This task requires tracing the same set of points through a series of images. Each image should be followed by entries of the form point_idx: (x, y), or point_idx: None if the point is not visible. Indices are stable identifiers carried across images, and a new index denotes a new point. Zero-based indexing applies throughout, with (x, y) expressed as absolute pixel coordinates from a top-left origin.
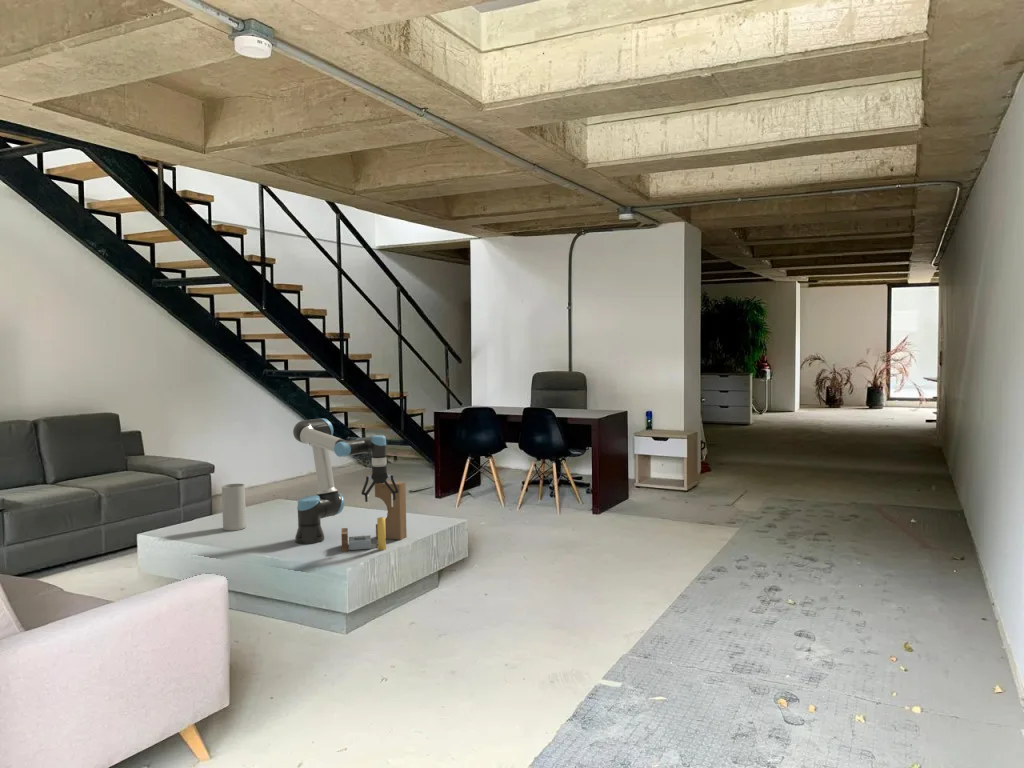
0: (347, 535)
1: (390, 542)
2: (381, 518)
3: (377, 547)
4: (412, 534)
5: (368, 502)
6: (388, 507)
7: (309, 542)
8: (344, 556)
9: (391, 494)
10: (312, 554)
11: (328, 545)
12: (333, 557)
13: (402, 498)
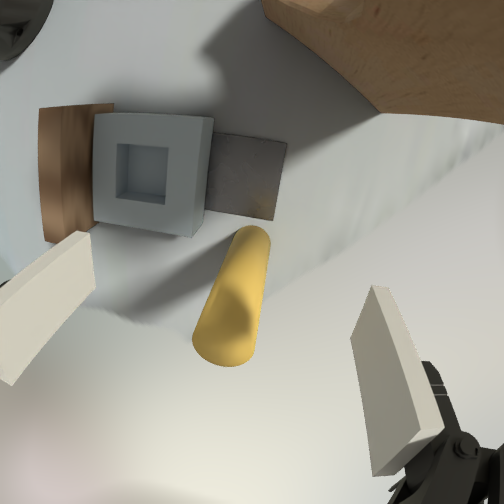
0: None
1: (321, 133)
2: (223, 353)
3: (235, 211)
4: None
5: (54, 326)
6: (381, 13)
7: (7, 59)
8: (103, 276)
9: (377, 473)
10: (18, 204)
11: (51, 91)
12: None
13: None
